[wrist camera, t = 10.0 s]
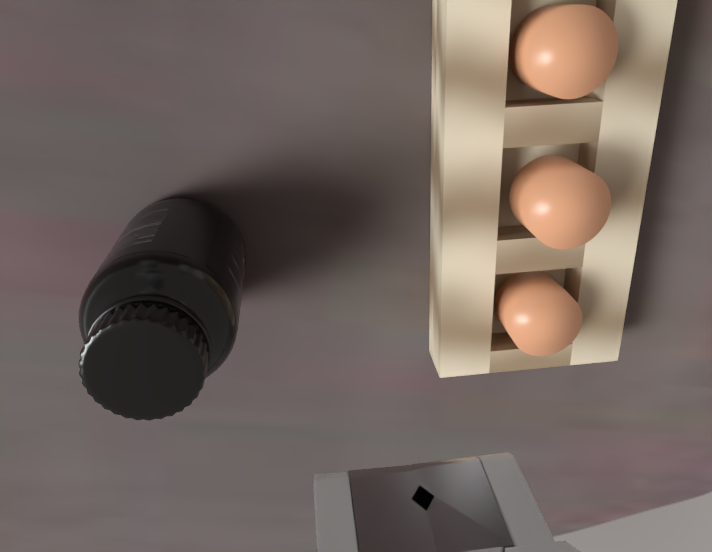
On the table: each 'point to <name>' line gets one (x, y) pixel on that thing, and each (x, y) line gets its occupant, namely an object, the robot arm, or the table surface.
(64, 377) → the table surface
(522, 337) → the button
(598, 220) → the button mid
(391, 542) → the robot arm
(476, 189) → the wooden egg tray
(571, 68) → the button
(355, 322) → the table surface
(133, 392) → the supplement bottle
